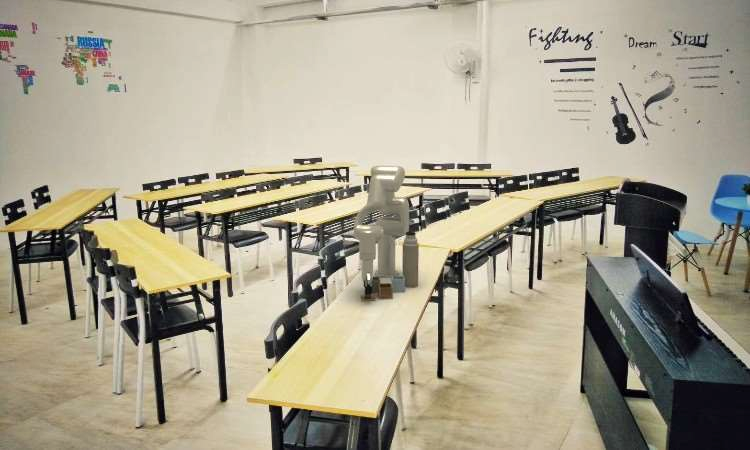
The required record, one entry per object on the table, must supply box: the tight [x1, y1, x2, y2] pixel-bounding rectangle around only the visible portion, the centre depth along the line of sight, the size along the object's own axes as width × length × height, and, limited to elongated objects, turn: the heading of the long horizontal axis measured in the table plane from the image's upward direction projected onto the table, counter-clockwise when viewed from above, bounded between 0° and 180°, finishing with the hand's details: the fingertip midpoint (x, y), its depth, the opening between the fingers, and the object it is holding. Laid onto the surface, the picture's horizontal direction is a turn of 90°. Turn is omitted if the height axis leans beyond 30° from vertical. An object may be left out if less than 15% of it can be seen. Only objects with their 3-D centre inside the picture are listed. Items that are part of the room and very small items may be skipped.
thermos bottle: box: [401, 231, 420, 289], centre depth 269 cm, size 8×8×28 cm
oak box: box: [377, 282, 394, 300], centre depth 256 cm, size 6×6×6 cm
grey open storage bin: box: [371, 275, 381, 294], centre depth 263 cm, size 6×6×7 cm
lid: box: [359, 293, 377, 302], centre depth 254 cm, size 7×7×6 cm
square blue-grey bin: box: [390, 275, 406, 294], centre depth 264 cm, size 6×6×7 cm
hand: (367, 290), depth 253 cm, fingers open, 9 cm apart
